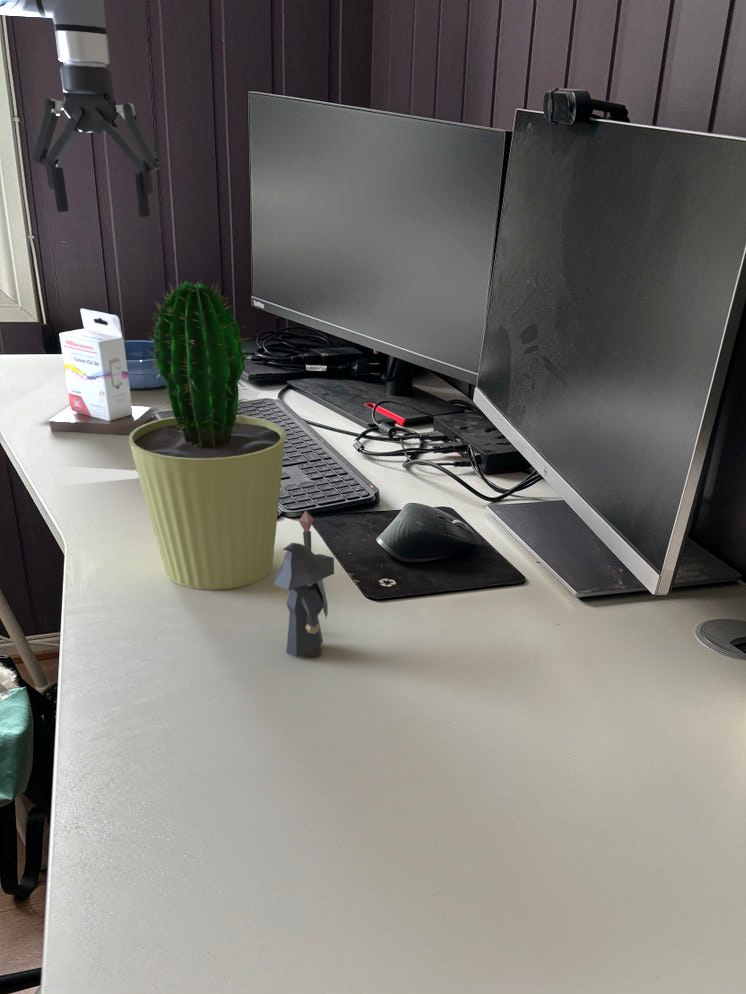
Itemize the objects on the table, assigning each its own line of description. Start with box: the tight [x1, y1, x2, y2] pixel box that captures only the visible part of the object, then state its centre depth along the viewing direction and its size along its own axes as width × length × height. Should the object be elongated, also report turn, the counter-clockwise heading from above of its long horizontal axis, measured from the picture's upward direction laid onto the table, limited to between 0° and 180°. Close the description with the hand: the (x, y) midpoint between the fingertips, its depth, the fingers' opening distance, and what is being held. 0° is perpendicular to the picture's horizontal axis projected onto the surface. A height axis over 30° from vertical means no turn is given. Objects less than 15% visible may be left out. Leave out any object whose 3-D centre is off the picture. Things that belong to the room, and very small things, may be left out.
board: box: [48, 405, 154, 436], centre depth 146 cm, size 12×10×2 cm
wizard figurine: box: [273, 510, 335, 658], centre depth 87 cm, size 8×6×12 cm
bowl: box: [124, 340, 166, 390], centre depth 169 cm, size 16×16×5 cm
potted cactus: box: [128, 279, 287, 591], centre depth 97 cm, size 15×15×30 cm
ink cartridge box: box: [58, 308, 133, 421], centre depth 142 cm, size 9×5×15 cm, turn 62°
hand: (103, 214), depth 159 cm, fingers open, 13 cm apart
